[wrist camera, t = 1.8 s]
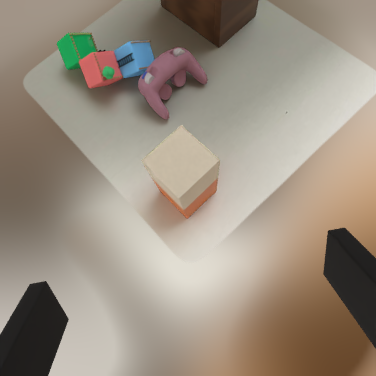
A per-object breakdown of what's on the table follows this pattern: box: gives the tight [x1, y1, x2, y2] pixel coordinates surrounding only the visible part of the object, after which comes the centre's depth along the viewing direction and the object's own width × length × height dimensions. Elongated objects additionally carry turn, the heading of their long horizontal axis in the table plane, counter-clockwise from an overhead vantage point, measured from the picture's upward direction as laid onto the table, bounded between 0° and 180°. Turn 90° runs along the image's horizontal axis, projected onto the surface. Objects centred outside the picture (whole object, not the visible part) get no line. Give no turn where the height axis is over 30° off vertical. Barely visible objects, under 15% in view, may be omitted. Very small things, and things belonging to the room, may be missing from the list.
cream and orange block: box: [141, 125, 220, 219], centre depth 31 cm, size 6×6×11 cm
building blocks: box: [57, 33, 155, 88], centre depth 40 cm, size 8×8×12 cm
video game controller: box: [138, 47, 207, 119], centre depth 39 cm, size 10×5×7 cm, turn 136°
